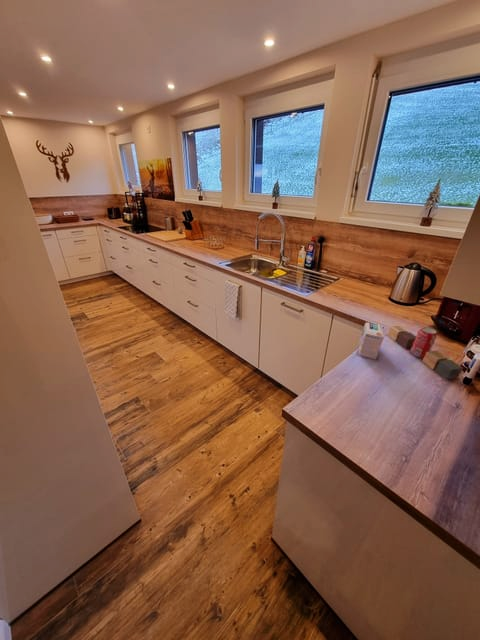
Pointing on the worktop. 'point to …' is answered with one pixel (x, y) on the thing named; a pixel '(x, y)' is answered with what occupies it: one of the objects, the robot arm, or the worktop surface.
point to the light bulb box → (371, 340)
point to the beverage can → (423, 341)
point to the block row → (427, 354)
